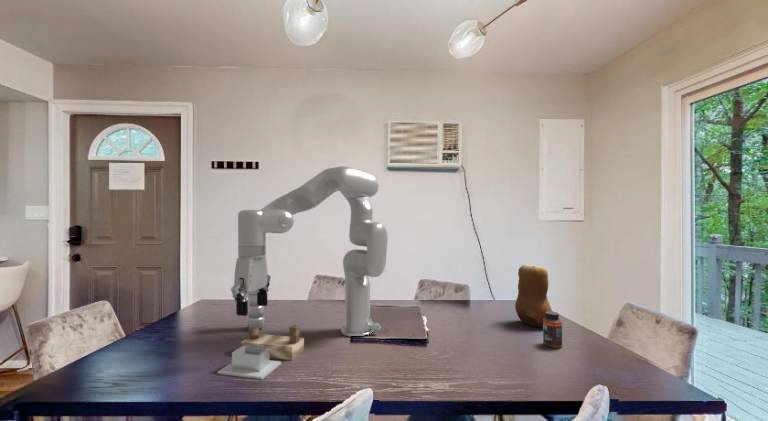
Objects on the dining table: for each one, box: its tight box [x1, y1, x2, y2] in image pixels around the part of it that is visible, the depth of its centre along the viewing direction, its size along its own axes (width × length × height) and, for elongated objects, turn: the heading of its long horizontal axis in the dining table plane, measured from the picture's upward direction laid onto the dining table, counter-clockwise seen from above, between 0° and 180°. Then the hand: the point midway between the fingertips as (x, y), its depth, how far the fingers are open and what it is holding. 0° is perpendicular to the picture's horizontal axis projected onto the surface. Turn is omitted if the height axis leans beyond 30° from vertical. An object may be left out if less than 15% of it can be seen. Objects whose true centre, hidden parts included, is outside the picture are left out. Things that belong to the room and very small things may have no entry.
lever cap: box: [231, 344, 271, 372], centre depth 97 cm, size 9×5×6 cm, turn 77°
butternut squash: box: [514, 263, 553, 328], centre depth 138 cm, size 14×13×25 cm
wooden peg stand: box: [240, 324, 305, 361], centre depth 109 cm, size 18×8×9 cm, turn 77°
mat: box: [217, 360, 282, 380], centre depth 97 cm, size 14×10×1 cm
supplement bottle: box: [542, 311, 563, 349], centre depth 116 cm, size 6×6×11 cm
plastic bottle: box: [246, 290, 266, 330], centre depth 132 cm, size 6×7×20 cm
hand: (252, 310), depth 98 cm, fingers open, 9 cm apart
